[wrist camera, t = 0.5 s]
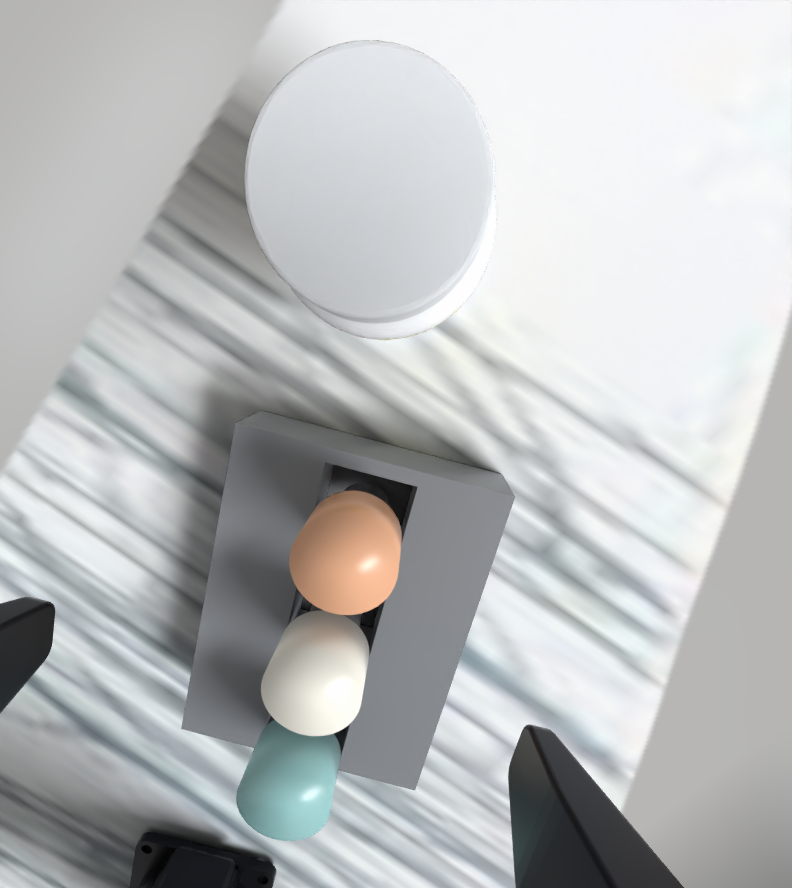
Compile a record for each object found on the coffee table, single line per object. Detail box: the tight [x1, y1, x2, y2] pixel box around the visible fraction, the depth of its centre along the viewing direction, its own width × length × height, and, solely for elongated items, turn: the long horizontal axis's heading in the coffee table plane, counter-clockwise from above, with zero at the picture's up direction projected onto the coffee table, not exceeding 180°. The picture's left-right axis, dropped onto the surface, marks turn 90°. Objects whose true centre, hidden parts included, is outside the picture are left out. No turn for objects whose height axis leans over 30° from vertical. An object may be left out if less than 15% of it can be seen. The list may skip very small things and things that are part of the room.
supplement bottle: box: [244, 40, 496, 340], centre depth 11 cm, size 5×5×8 cm
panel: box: [181, 411, 515, 790], centre depth 17 cm, size 12×9×2 cm
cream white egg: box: [261, 605, 369, 736], centre depth 15 cm, size 3×3×4 cm
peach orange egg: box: [289, 483, 402, 615], centre depth 14 cm, size 3×3×4 cm
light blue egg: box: [236, 720, 341, 841], centre depth 16 cm, size 3×3×4 cm
